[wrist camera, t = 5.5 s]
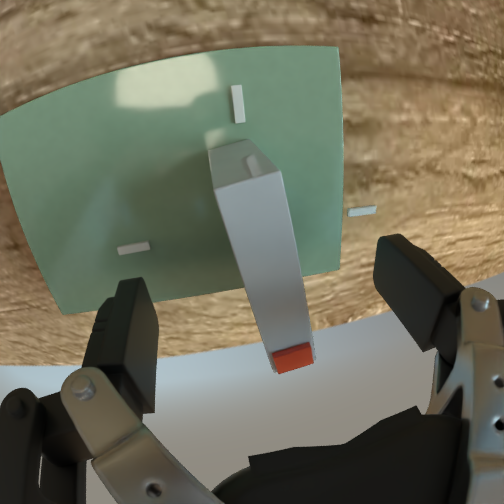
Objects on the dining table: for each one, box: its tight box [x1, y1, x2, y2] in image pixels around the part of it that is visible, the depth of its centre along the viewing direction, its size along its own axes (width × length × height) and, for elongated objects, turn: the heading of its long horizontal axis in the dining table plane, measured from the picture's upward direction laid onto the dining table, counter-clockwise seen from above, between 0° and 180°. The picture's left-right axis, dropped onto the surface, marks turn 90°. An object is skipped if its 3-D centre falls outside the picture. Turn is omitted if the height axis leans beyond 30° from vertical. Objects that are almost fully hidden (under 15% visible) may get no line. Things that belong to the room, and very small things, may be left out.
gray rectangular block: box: [208, 139, 316, 374], centre depth 10 cm, size 7×2×5 cm, turn 14°
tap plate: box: [0, 46, 376, 315], centre depth 13 cm, size 16×13×3 cm
